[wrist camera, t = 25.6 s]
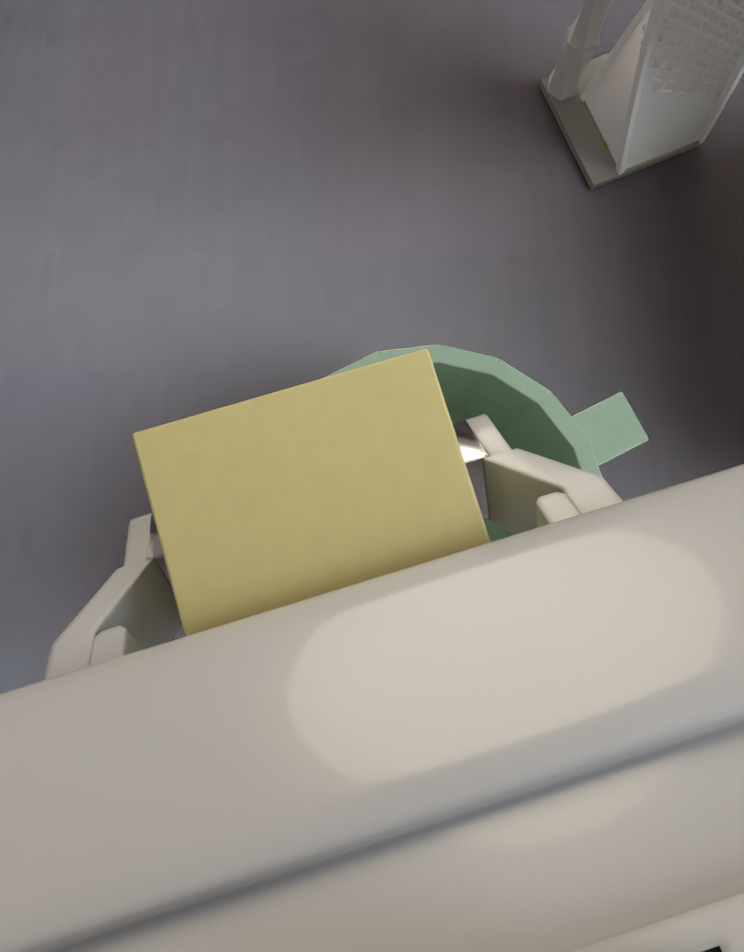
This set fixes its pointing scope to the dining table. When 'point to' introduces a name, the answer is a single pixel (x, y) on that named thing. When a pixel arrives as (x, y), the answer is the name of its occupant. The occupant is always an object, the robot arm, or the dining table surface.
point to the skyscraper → (645, 83)
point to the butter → (308, 490)
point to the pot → (526, 411)
